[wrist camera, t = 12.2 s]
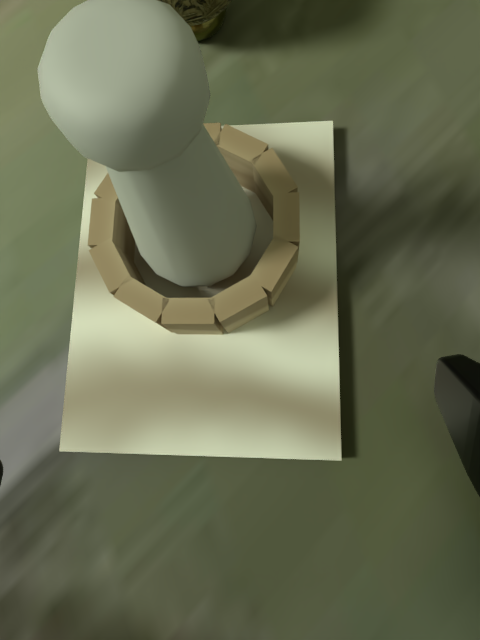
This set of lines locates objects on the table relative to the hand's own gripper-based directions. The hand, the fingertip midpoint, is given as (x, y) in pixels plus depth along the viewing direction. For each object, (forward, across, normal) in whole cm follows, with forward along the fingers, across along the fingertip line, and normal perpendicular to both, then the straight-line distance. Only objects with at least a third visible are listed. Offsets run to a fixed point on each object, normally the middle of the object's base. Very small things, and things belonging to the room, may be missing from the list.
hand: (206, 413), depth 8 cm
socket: (+15, +1, +5) cm, 15 cm away
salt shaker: (+15, +1, +3) cm, 16 cm away
